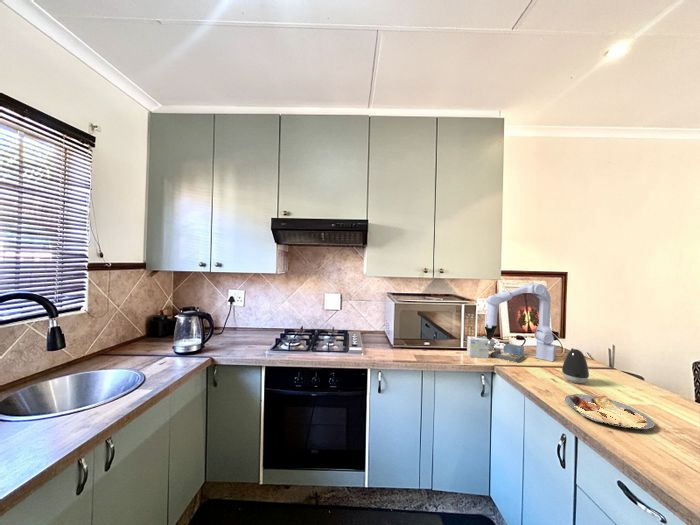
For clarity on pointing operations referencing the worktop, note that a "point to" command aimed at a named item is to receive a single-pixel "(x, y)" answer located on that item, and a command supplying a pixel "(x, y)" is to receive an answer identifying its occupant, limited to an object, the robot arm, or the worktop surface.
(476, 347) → the light bulb box
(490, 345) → the grey metal canister
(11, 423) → the worktop surface
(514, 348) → the carton
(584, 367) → the dark grey rounded dome
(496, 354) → the display bay
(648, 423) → the food plate
